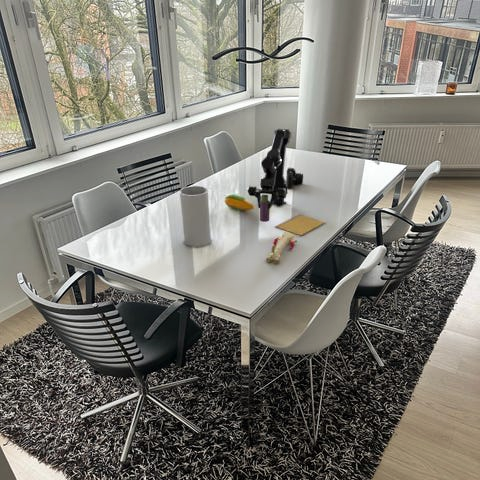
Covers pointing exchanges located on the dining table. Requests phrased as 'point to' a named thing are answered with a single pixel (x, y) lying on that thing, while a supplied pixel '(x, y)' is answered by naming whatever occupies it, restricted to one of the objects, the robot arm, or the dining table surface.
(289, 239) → the beige elongated piece
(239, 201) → the corn
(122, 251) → the dining table surface
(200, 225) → the cylinder vase
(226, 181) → the dining table surface
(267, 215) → the pepper mill
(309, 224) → the mustard yellow board
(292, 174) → the film camera
